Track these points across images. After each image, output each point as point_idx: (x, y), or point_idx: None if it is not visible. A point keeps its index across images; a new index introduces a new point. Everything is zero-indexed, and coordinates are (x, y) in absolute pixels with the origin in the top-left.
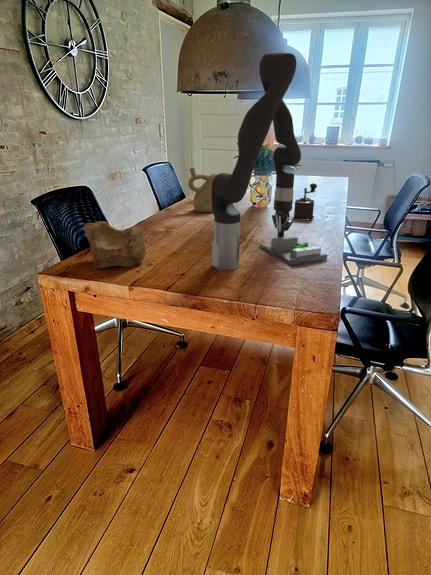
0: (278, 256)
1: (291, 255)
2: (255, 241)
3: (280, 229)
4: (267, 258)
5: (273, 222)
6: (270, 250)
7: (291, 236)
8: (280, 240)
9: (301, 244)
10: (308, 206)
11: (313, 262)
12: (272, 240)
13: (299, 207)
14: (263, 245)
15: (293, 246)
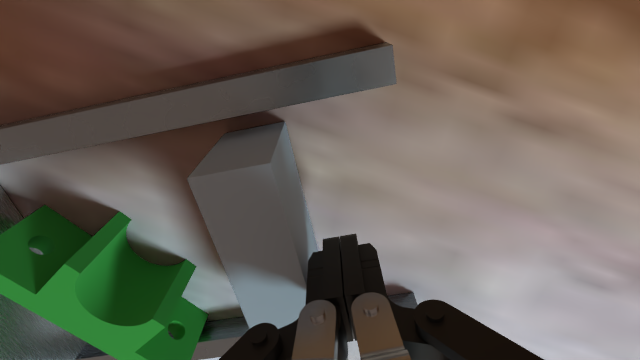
0: (54, 115)
1: (110, 220)
2: (580, 62)
3: (299, 328)
4: (41, 7)
5: (529, 352)
6: (178, 90)
7: None
8: (213, 230)
9: (122, 342)
10: None
11: None
12: (251, 159)
13: None
14: (327, 67)
15: (56, 276)
